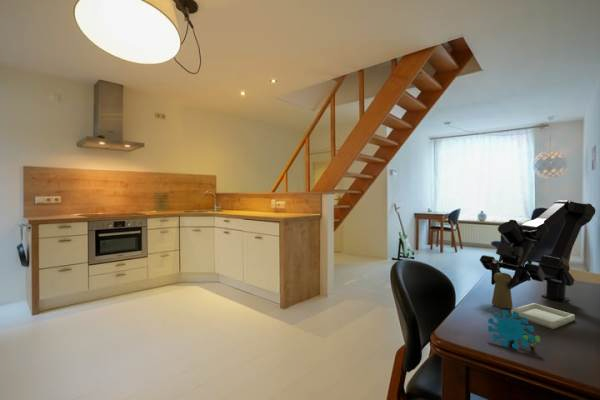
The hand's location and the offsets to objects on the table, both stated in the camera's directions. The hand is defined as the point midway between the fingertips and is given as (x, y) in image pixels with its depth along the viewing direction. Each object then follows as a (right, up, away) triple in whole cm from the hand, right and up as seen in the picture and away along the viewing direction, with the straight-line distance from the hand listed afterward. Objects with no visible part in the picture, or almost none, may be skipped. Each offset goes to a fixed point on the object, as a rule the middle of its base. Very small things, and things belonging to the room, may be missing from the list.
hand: (500, 286), depth 101 cm
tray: (+8, -8, -8) cm, 14 cm away
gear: (-14, -8, -25) cm, 30 cm away
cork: (+1, -7, +1) cm, 7 cm away
